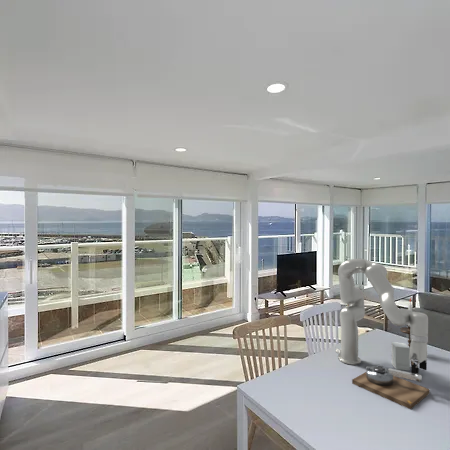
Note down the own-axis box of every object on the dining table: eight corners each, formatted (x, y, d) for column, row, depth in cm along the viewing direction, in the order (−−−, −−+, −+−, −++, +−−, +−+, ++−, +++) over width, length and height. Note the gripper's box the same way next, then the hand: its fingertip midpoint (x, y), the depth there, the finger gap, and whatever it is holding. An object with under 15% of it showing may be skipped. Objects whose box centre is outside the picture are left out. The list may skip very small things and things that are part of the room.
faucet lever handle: (365, 381, 151) (365, 368, 151) (367, 371, 161) (367, 359, 161) (422, 395, 139) (422, 381, 139) (421, 383, 149) (421, 370, 149)
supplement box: (410, 371, 167) (410, 347, 167) (395, 369, 168) (395, 346, 168) (405, 365, 174) (405, 342, 174) (391, 363, 176) (391, 341, 176)
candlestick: (424, 357, 185) (424, 299, 185) (406, 356, 185) (406, 299, 185) (413, 349, 196) (413, 295, 196) (396, 349, 196) (396, 295, 196)
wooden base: (352, 383, 153) (352, 379, 153) (373, 371, 166) (373, 367, 166) (410, 409, 132) (410, 404, 132) (429, 393, 144) (429, 388, 144)
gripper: (417, 332, 161) (417, 364, 161) (403, 339, 150) (403, 374, 150) (434, 336, 155) (434, 369, 155) (420, 344, 144) (420, 380, 144)
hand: (418, 371), depth 153 cm, fingers open, 9 cm apart
